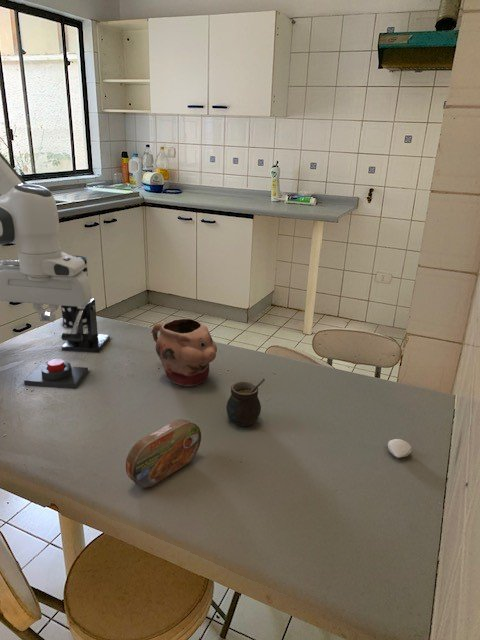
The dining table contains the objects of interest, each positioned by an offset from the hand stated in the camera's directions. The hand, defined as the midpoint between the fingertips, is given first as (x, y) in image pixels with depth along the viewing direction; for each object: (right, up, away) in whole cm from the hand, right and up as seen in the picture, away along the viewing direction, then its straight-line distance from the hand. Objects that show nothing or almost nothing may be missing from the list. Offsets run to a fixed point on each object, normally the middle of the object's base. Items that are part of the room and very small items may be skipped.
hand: (47, 320), depth 106 cm
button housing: (+1, -14, +4) cm, 14 cm away
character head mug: (+30, -14, +7) cm, 34 cm away
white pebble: (+74, -26, -18) cm, 81 cm away
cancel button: (+1, -11, +3) cm, 12 cm away
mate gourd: (+45, -21, -9) cm, 50 cm away
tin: (+31, -27, -24) cm, 47 cm away
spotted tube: (-5, -1, +35) cm, 35 cm away
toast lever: (+2, -1, +15) cm, 15 cm away
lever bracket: (+2, -7, +21) cm, 22 cm away
